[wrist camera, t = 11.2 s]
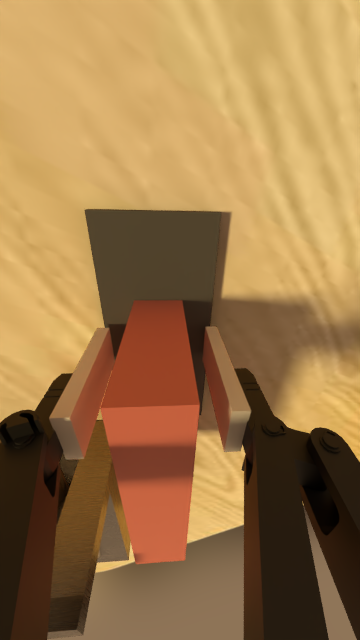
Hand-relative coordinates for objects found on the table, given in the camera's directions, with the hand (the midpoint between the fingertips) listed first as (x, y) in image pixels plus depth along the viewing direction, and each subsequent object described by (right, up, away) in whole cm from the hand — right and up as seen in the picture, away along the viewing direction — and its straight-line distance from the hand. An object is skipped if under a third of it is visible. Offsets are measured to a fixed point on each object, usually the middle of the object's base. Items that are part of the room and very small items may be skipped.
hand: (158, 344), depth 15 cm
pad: (0, +1, +1) cm, 1 cm away
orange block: (0, -3, +2) cm, 4 cm away
